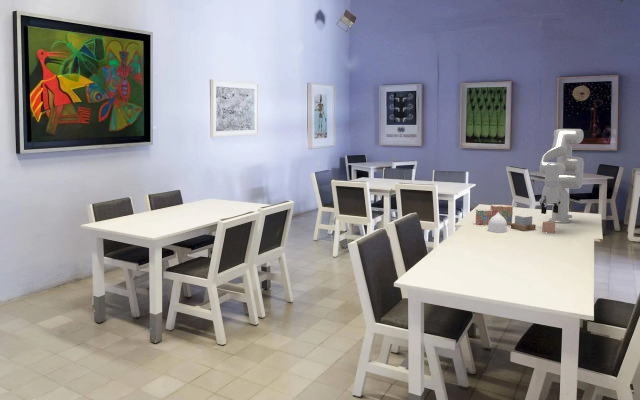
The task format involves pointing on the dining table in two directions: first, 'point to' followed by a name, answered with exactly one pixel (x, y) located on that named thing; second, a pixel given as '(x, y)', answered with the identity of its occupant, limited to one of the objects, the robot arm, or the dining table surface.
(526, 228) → the plinth
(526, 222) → the grey block
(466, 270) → the dining table surface
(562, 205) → the robot arm
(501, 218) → the teardrop
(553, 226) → the terracotta block
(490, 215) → the stack of blocks
